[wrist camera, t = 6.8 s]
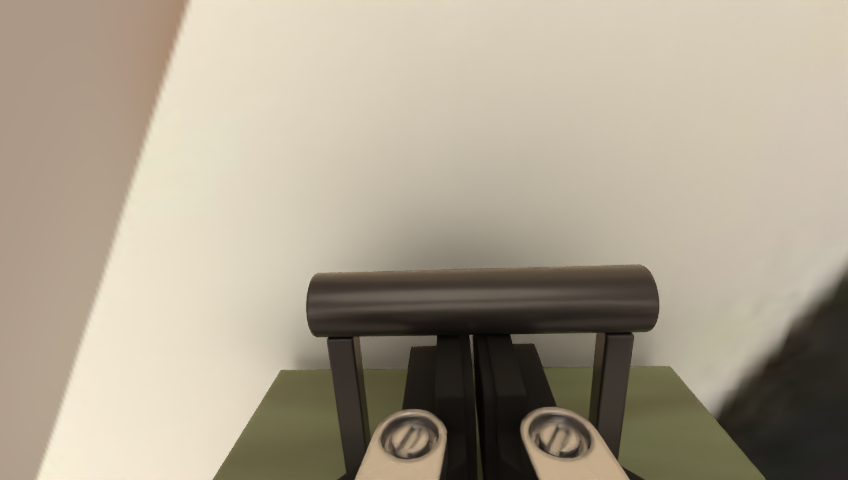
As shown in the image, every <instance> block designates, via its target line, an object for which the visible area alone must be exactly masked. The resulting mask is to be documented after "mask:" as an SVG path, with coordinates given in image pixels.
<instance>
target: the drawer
mask: <svg viewBox="0 0 848 480" xmlns="http://www.w3.org/2000/svg"><path fill="white" fill-rule="evenodd" d="M306 312H307V321H308V326H309V329H310V331H311V333H312V335H313V336H315V337H328V338H327V345H328V352H329V359H330V366H331V370H281V371H280V372H279V374H278V376H277V377H276V379H275V380H274V382H273V384H272V385H271V387H270V388H269V390H268V392H267V393H266V395H265V397H264V398H263V400H262V401H261V403H260V405H259V406H258V408H257V409H256V411H255V413H254V414H253V416H252V417H251V419H250V421H249V422H248V424H247V425H246V427H245V429H244V430H243V432H242V433H241V435H240V437H239V438H238V440H237V442H236V443H235V445H234V446H233V448H232V450H231V451H230V453H229V454H228V456H227V458H226V459H225V461H224V462H223V464H222V466H221V467H220V469H219V470H218V472H217V474H216V475H215V477H214V478H213V480H337V479H339V478H340V477H342V476H343V475H344V474H346V473H347V472H349V471H350V470H351V469H353V468H354V467H356V466H357V465H358V464H360V463H361V462H362V461H363V458H364V456H365V453H366V451H367V449H368V446H369V444H370V441H371V439H372V436H373V434H374V432H375V430H376V428H377V427H378V425H379V424H380V423H381V422H382V421H383V420H384V419H385V418H386V417H388V416H390V415H392V414H394V413H395V412H398V411H402V406H403V399H404V392H405V386H406V379H407V372H408V369H363V366H362V357H361V349H360V340H359V337H364V336H427V335H491V334H555V333H597V334H596V344H595V355H594V365H593V367H543V369H544V372H545V375H546V378H547V380H548V383H549V386H550V388H551V391H552V394H553V397H554V399H555V402H556V405H557V407H559V408H564V409H568V410H571V411H573V412H575V413H578V414H580V415H581V416H583V417H584V418H585V419H587V420H588V421H589V422H590V423H591V424H592V425H593V426H594V427H595V428H596V430H597V431H598V433H599V434H600V436H601V437H602V439H603V440H604V442H605V443H606V445H607V446H608V448H609V449H610V451H611V452H612V454H613V455H614V457H615V458H616V460H617V461H618V463H619V464H620V465H621V466H622V467H624V468H626V469H627V470H629V471H631V472H633V473H634V474H636V475H638V476H639V477H641V478H643V479H645V480H766V479H765V477H764V476H763V475H762V474H761V473H760V472H759V470H758V469H757V468H756V467H755V466H754V464H753V463H752V462H751V461H750V460H749V459H748V457H747V456H746V455H745V454H744V453H743V452H742V450H741V449H740V448H739V447H738V446H737V444H736V443H735V442H734V441H733V440H732V439H731V437H730V436H729V435H728V434H727V433H726V431H725V430H724V429H723V428H722V427H721V426H720V424H719V423H718V422H717V421H716V420H715V419H714V417H713V416H712V415H711V414H710V413H709V411H708V410H707V409H706V408H705V407H704V406H703V404H702V403H701V402H700V401H699V400H698V399H697V397H696V396H695V395H694V394H693V393H692V391H691V390H690V389H689V388H688V387H687V386H686V384H685V383H684V382H683V381H682V380H681V378H680V377H679V376H678V375H677V374H676V373H675V371H674V370H673V369H672V368H671V367H670V366H633V367H630V364H631V356H632V348H633V341H634V335H633V333H632V332H648V331H650V330H652V329H653V327H654V326H655V324H656V322H657V319H658V314H659V296H658V290H657V286H656V283H655V280H654V278H653V276H652V274H651V272H650V271H649V270H648V269H647V268H646V267H645V266H642V265H605V266H567V267H529V268H491V269H453V270H415V271H378V272H340V273H317V274H315V275H314V276H313V277H312V279H311V281H310V284H309V288H308V293H307V302H306ZM472 369H473V380H474V368H472ZM474 390H475V386H474ZM475 408H476V401H475ZM476 440H477V474H478V480H483V472H482V462H481V452H480V441H479V431H478V421H477V411H476Z"/></svg>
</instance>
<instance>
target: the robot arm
mask: <svg viewBox="0 0 848 480" xmlns="http://www.w3.org/2000/svg"><path fill="white" fill-rule="evenodd" d="M473 353H474V380H473V369H472V359H471V349H470V339H469V335H437V346H418V347H411V351H410V358H409V365H408V372H407V379H406V386H405V392H404V399H403V406H402V411H398V412H395V413H394V414H392V415H390V416H388V417H386V418H385V419H384V420H383V421H382V422H381V423H380V424H379V425H378V427H377V428H376V430H375V432H374V434H373V436H372V439H371V441H370V444H369V446H368V449H367V451H366V453H365V456H364V458H363V461H362V462H361V463H360V464H358V465H357V466H356V467H354V468H353V469H351V470H350V471H349V472H347V473H346V474H344V475H343V476H342V477H340V478H339V479H337V480H478V474H477V440H476V411H477V421H478V431H479V441H480V452H481V462H482V472H483V480H645V479H643V478H641V477H639V476H638V475H636V474H634V473H633V472H631V471H629V470H627V469H626V468H624V467H622V466H621V465H620V464H619V463H618V461H617V460H616V458H615V457H614V455H613V454H612V452H611V451H610V449H609V448H608V446H607V445H606V443H605V442H604V440H603V439H602V437H601V436H600V434H599V433H598V431H597V430H596V428H595V427H594V426H593V425H592V424H591V423H590V422H589V421H588V420H587V419H585V418H584V417H583V416H581V415H580V414H578V413H575V412H573V411H571V410H568V409H564V408H559V407H557V405H556V402H555V399H554V397H553V394H552V391H551V388H550V386H549V383H548V380H547V378H546V375H545V372H544V369H543V367H542V364H541V361H540V358H539V356H538V353H537V350H536V347H535V345H534V344H512V340H511V337H510V334H491V335H473ZM474 386H475V390H474ZM475 401H476V408H475Z"/></svg>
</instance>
